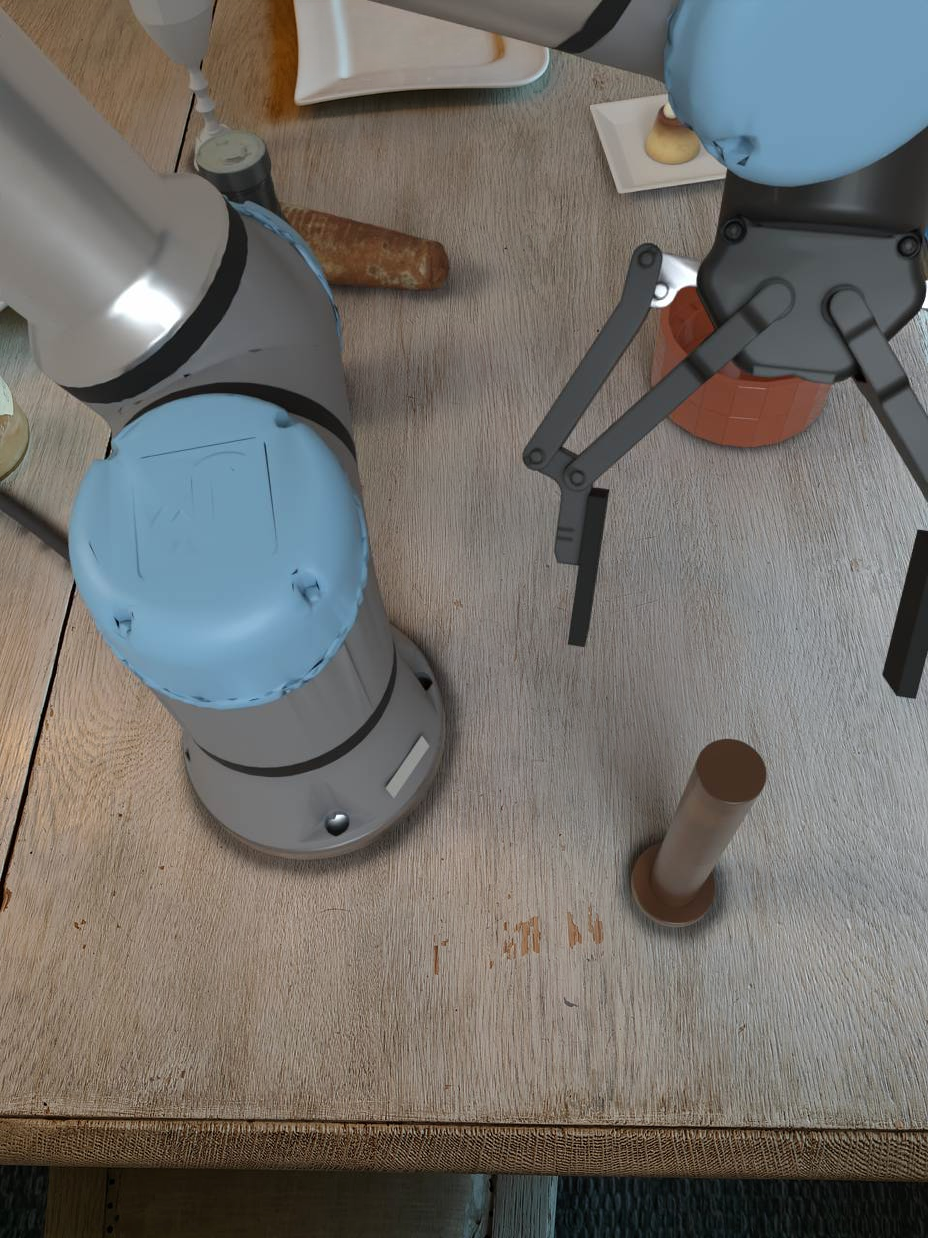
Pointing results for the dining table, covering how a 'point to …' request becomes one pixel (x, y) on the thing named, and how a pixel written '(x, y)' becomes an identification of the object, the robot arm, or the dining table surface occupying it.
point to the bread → (369, 252)
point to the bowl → (731, 387)
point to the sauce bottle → (239, 169)
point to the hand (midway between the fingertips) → (734, 662)
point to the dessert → (651, 146)
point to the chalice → (184, 47)
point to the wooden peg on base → (698, 834)
